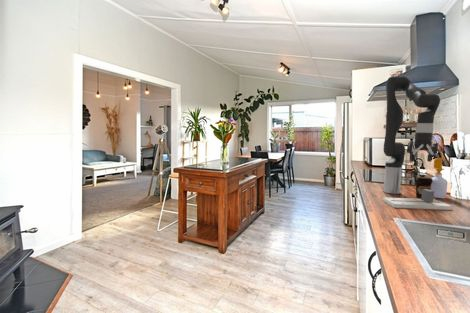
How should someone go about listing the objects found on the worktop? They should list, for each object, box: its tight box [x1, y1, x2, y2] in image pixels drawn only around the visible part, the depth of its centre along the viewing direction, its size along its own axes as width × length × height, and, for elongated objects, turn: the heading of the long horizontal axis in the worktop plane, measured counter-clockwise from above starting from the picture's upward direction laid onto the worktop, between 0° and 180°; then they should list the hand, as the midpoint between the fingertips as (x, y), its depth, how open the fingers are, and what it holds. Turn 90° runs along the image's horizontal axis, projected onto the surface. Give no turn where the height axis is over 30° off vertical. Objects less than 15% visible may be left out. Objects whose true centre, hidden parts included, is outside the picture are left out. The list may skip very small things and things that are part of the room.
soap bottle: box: [431, 157, 448, 199], centre depth 153 cm, size 9×9×25 cm
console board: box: [382, 196, 452, 211], centre depth 137 cm, size 13×28×2 cm, turn 83°
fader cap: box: [421, 189, 434, 202], centre depth 136 cm, size 5×3×6 cm, turn 173°
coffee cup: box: [415, 176, 433, 199], centre depth 149 cm, size 9×8×13 cm
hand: (420, 161), depth 137 cm, fingers open, 8 cm apart
